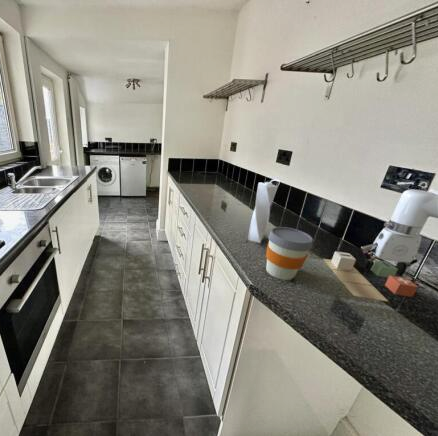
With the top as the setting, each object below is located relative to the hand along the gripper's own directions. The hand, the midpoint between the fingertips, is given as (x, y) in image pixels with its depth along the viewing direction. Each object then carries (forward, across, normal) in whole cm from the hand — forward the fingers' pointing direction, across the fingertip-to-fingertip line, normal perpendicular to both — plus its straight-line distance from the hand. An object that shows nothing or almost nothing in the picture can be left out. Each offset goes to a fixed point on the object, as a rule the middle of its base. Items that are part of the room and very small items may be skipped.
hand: (381, 271), depth 82 cm
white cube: (+1, -12, +1) cm, 12 cm away
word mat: (+1, -12, -6) cm, 13 cm away
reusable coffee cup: (+2, -35, -9) cm, 36 cm away
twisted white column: (+2, -39, +16) cm, 42 cm away
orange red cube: (+1, -1, -10) cm, 10 cm away
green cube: (+1, 0, 0) cm, 1 cm away
